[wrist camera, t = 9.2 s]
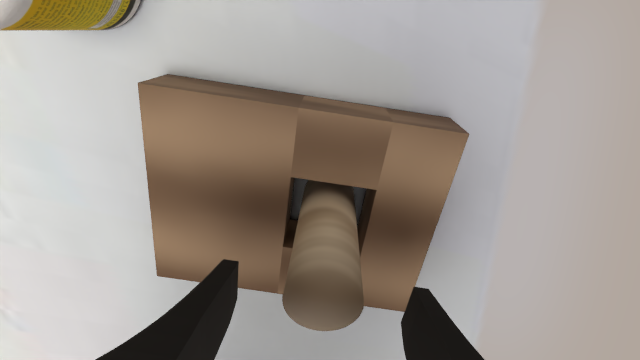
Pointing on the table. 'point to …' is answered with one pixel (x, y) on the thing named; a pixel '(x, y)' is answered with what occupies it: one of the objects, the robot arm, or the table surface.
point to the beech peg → (325, 260)
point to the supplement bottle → (65, 14)
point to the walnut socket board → (289, 180)
